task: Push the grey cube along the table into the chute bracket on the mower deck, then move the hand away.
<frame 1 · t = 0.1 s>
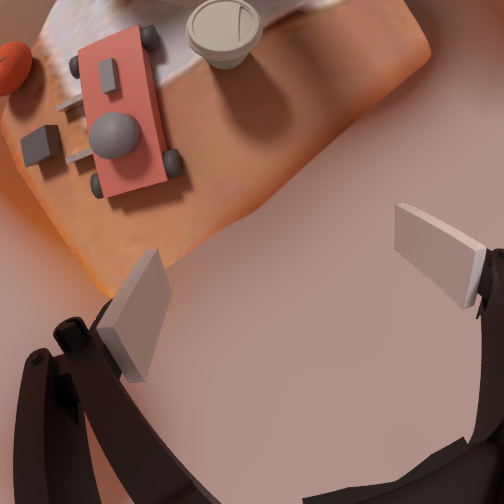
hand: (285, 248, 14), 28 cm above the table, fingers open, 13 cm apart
mower deck: (126, 110, 35), on the table
tomato: (23, 71, 28), on the table
coffee cup: (225, 53, 33), on the table
chute bracket: (82, 127, 35), on the table
grey cube: (47, 144, 35), on the table
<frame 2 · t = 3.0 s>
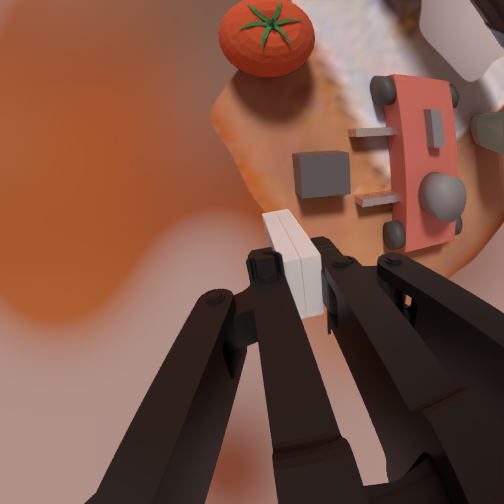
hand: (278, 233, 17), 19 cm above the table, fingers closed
mower deck: (417, 160, 34), on the table
tomato: (262, 48, 28), on the table
coffee cup: (479, 129, 32), on the table
chute bracket: (371, 164, 34), on the table
grey cube: (316, 170, 34), on the table
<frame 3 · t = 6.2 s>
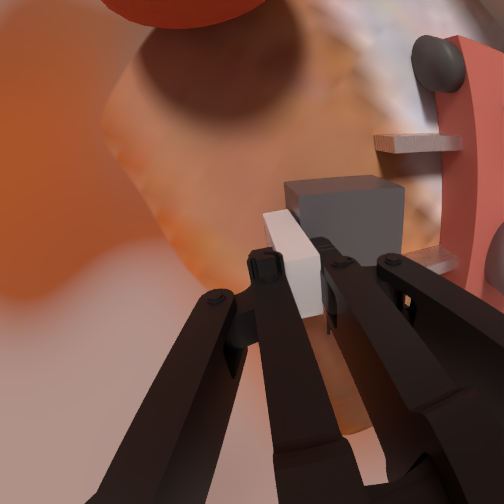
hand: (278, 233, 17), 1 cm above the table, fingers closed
mower deck: (479, 192, 18), on the table
chute bracket: (413, 202, 18), on the table
grey cube: (332, 215, 18), on the table, touching gripper
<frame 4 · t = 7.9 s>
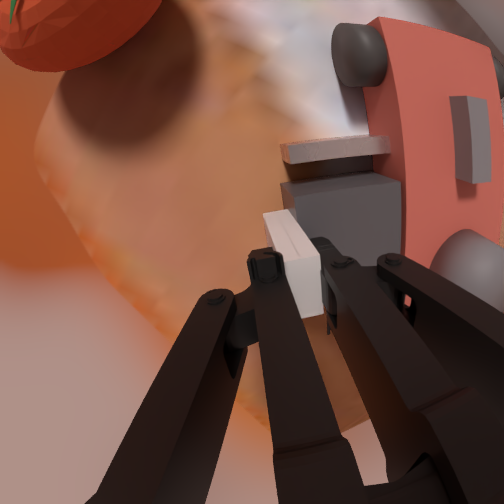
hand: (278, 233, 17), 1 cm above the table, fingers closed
mower deck: (430, 199, 18), on the table
tomato: (110, 15, 11), on the table
chute bracket: (335, 214, 18), on the table
grey cube: (330, 213, 18), on the table, touching gripper
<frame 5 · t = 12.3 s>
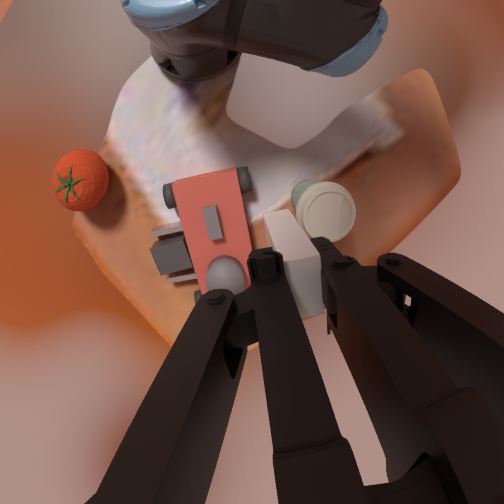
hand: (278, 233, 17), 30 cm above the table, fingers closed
mower deck: (221, 241, 49), on the table
tomato: (93, 175, 43), on the table
coffee cup: (307, 196, 47), on the table
chute bracket: (177, 249, 49), on the table
grey cube: (175, 249, 49), on the table
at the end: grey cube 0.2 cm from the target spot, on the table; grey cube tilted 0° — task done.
